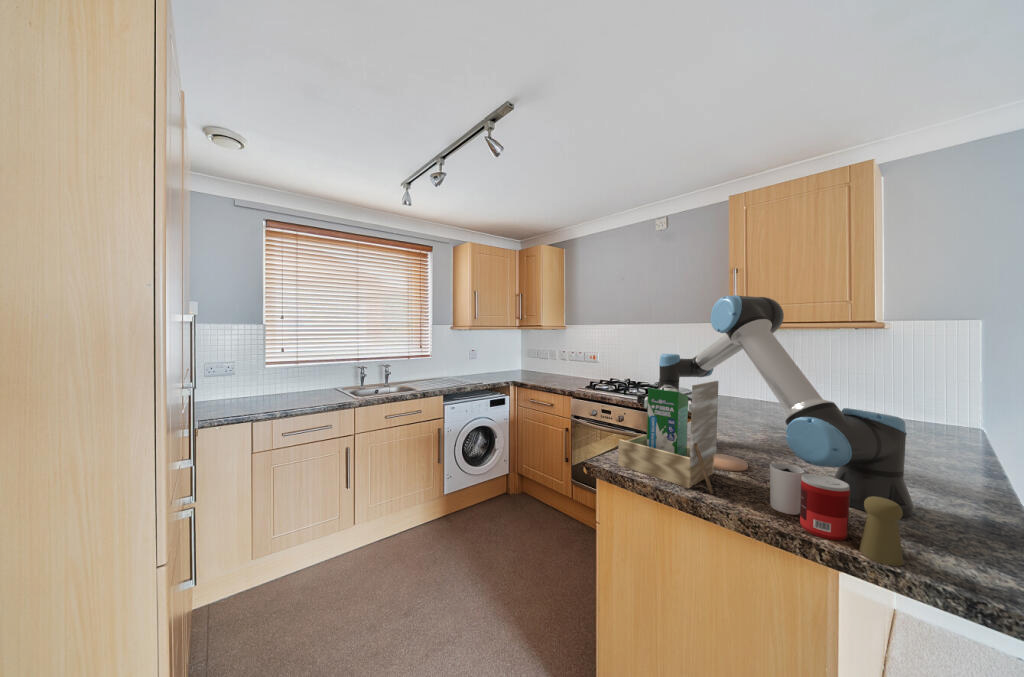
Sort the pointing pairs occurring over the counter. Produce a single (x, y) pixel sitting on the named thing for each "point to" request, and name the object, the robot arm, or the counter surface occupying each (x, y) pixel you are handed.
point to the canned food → (824, 506)
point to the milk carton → (667, 420)
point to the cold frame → (699, 452)
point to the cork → (882, 531)
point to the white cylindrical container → (785, 487)
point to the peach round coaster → (729, 463)
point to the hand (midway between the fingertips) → (667, 406)
